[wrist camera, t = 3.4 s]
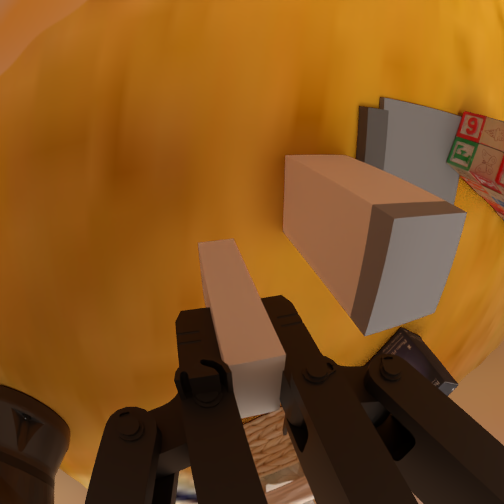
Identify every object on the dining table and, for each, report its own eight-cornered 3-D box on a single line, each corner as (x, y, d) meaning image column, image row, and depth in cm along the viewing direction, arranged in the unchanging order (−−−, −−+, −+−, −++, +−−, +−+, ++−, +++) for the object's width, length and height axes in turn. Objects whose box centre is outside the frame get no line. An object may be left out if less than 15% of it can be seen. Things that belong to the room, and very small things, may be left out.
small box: (399, 324, 34) (447, 381, 25) (419, 334, 37) (460, 383, 28) (346, 380, 37) (381, 439, 28) (371, 384, 40) (404, 435, 31)
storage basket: (202, 434, 36) (224, 528, 23) (306, 384, 35) (354, 482, 22) (275, 464, 48) (297, 524, 36) (348, 428, 47) (380, 488, 35)
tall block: (282, 231, 23) (364, 336, 13) (285, 155, 20) (394, 218, 10) (338, 225, 24) (434, 312, 14) (345, 154, 22) (466, 212, 11)
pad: (341, 274, 27) (347, 281, 26) (359, 93, 19) (368, 94, 18) (436, 255, 30) (443, 260, 29) (462, 117, 22) (470, 119, 21)
